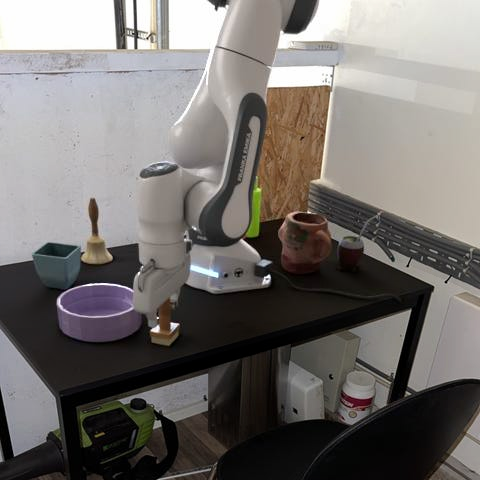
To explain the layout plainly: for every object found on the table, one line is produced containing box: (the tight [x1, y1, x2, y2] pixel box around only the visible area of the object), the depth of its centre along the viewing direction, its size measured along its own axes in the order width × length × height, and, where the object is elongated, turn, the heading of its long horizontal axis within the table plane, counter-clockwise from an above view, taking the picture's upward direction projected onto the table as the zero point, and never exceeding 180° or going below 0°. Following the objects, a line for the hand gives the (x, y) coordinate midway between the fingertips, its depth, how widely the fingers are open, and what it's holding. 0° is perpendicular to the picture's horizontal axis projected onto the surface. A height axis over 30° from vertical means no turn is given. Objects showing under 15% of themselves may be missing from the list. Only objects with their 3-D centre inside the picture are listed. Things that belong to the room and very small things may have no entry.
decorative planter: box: [277, 211, 333, 275], centre depth 167 cm, size 20×12×14 cm, turn 36°
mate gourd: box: [336, 214, 379, 273], centre depth 169 cm, size 8×8×15 cm
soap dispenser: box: [246, 175, 262, 238], centre depth 188 cm, size 6×7×20 cm
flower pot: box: [31, 241, 82, 290], centre depth 154 cm, size 9×9×9 cm
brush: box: [149, 297, 181, 347], centre depth 133 cm, size 6×4×10 cm
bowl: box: [56, 283, 143, 343], centre depth 138 cm, size 17×17×6 cm
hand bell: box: [81, 197, 113, 265], centre depth 167 cm, size 8×8×16 cm
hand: (163, 316), depth 133 cm, fingers open, 8 cm apart
